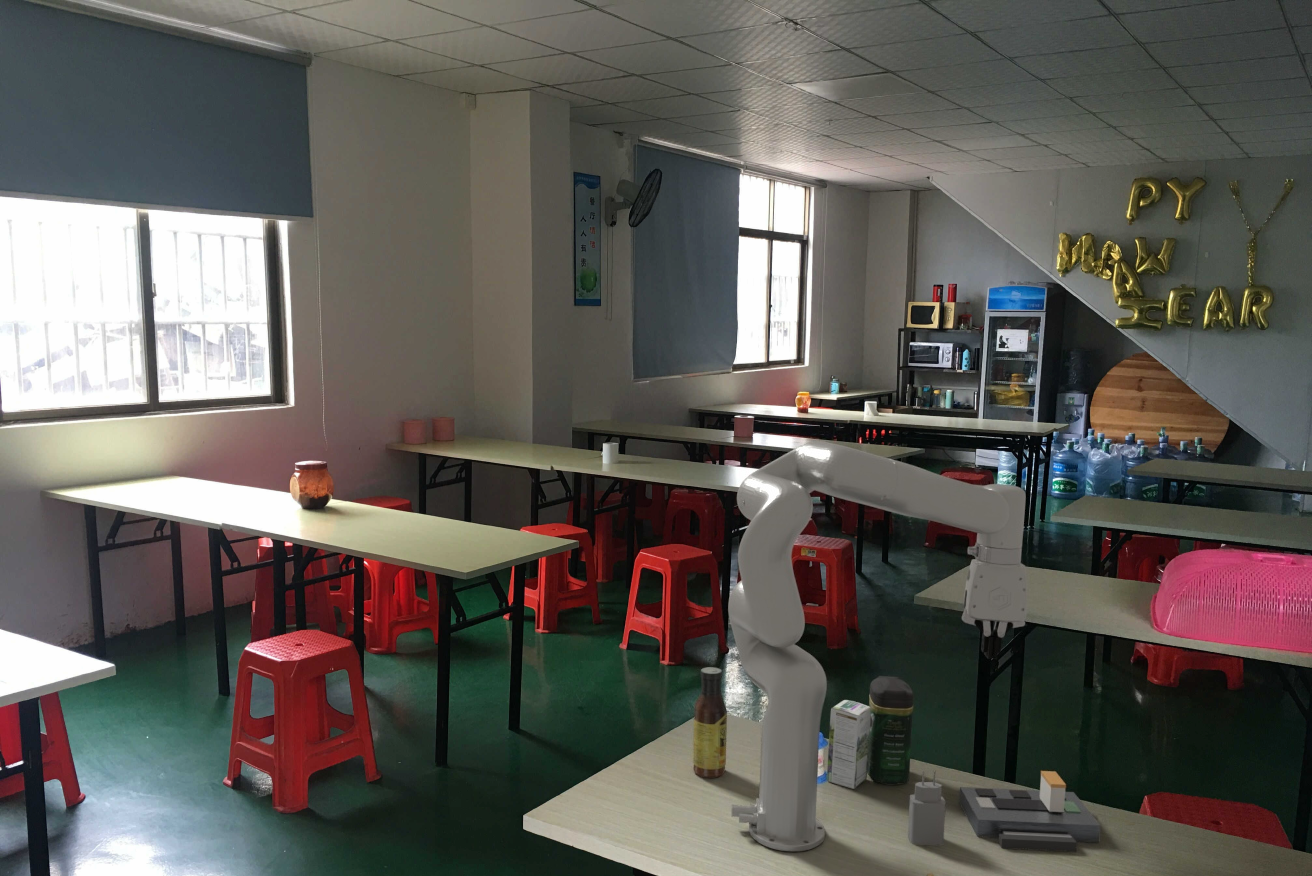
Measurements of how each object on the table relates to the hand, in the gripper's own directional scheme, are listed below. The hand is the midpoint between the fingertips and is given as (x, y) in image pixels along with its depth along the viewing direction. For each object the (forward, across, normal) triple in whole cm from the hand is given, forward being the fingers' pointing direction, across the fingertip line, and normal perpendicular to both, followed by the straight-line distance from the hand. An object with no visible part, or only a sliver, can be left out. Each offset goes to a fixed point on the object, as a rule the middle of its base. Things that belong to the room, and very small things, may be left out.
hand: (990, 656), depth 173 cm
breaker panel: (+27, +7, -6) cm, 28 cm away
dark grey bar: (+27, +6, -15) cm, 31 cm away
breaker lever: (+24, +11, -6) cm, 27 cm away
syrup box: (+28, -23, +6) cm, 36 cm away
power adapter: (+28, -12, -15) cm, 34 cm away
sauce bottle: (+28, -49, +6) cm, 57 cm away
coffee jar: (+28, -15, +9) cm, 33 cm away
